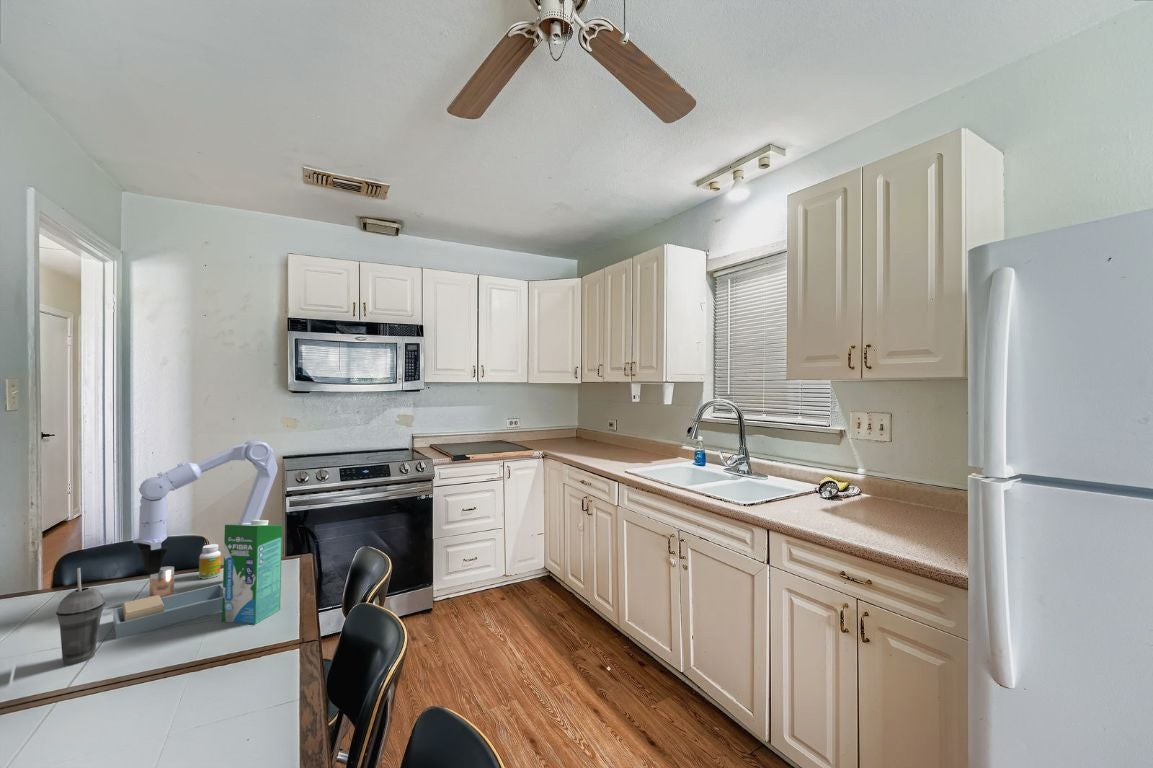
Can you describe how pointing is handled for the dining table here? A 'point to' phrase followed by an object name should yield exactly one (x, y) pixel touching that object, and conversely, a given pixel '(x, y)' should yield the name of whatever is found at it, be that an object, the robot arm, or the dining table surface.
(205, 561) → the supplement bottle
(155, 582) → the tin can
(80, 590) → the beverage cup
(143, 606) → the plain tan box
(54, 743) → the dining table surface
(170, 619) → the tote
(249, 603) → the milk carton
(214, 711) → the dining table surface
